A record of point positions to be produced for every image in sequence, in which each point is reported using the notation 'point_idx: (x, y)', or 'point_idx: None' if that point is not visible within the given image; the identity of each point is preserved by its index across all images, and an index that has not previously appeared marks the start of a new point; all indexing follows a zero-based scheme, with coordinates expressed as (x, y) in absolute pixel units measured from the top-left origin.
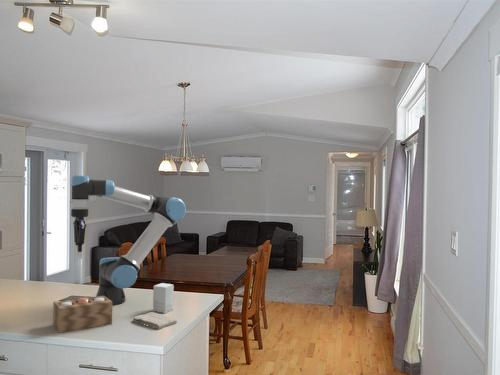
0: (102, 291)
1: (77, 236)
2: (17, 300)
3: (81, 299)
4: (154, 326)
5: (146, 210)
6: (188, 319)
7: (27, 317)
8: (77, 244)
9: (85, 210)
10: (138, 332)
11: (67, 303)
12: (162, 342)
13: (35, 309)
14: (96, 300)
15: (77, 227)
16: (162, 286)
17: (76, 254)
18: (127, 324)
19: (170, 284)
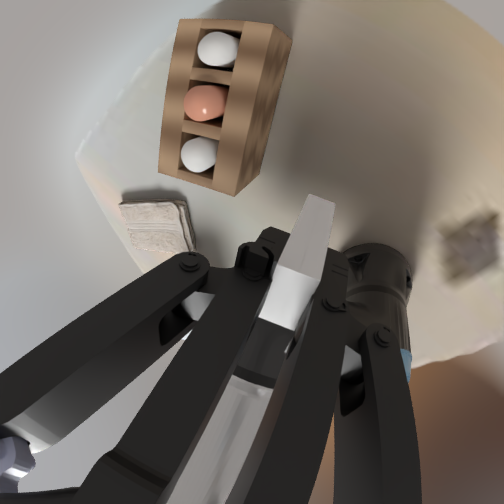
0: (368, 274)
1: (198, 361)
2: None
3: (194, 94)
4: (130, 203)
5: None
6: (145, 269)
7: (418, 35)
8: (237, 260)
9: None
10: (125, 165)
11: (207, 49)
12: (81, 167)
13: (477, 104)
14: (188, 141)
15: (77, 501)
16: None
17: (302, 209)
18: (172, 178)
19: (183, 337)
